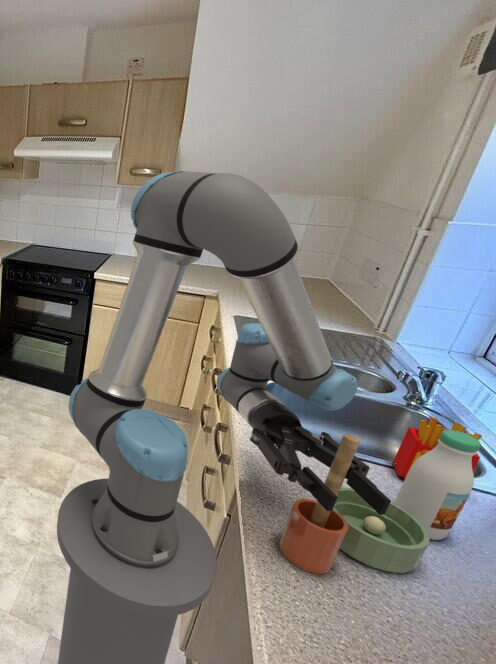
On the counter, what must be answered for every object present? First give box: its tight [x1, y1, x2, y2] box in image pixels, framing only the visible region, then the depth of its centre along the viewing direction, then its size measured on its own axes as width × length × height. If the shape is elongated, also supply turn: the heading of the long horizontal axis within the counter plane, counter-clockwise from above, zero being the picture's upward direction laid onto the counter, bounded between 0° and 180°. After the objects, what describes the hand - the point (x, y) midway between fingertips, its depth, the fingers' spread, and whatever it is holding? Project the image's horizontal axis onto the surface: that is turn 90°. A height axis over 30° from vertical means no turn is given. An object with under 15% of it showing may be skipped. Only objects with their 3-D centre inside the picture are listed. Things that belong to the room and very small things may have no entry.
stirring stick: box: [309, 433, 361, 528], centre depth 67 cm, size 2×2×24 cm
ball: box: [363, 516, 386, 535], centre depth 75 cm, size 3×3×3 cm
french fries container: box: [391, 416, 483, 481], centre depth 87 cm, size 7×9×14 cm
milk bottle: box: [393, 429, 482, 541], centre depth 75 cm, size 8×8×20 cm
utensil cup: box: [279, 498, 349, 575], centre depth 70 cm, size 7×7×9 cm
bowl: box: [333, 486, 431, 574], centre depth 73 cm, size 13×13×6 cm
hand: (358, 505), depth 61 cm, fingers open, 7 cm apart
